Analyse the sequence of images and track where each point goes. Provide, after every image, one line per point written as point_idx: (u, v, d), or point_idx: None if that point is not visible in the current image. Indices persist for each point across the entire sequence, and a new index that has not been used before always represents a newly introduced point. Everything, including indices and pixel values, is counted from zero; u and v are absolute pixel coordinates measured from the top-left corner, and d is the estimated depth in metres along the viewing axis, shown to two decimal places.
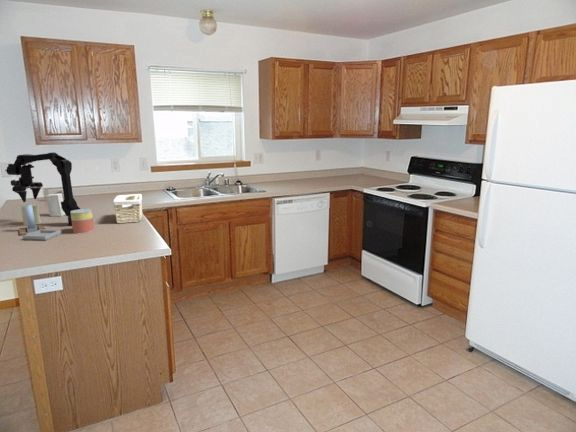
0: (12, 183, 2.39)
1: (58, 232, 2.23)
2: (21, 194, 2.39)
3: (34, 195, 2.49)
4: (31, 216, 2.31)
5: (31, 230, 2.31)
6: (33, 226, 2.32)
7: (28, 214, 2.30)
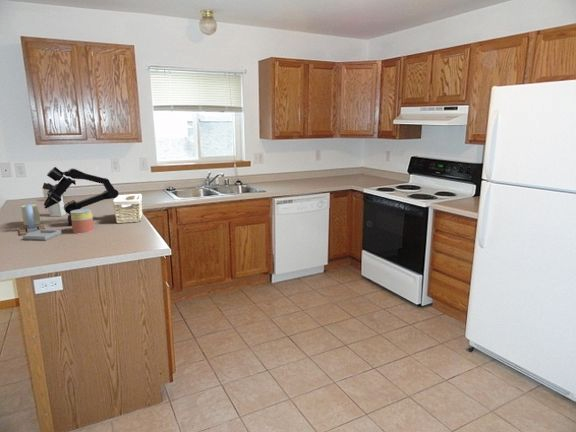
0: (48, 186, 2.31)
1: (58, 232, 2.23)
2: (50, 201, 2.31)
3: (46, 202, 2.39)
4: (31, 216, 2.31)
5: (31, 230, 2.31)
6: (33, 226, 2.32)
7: (28, 214, 2.30)
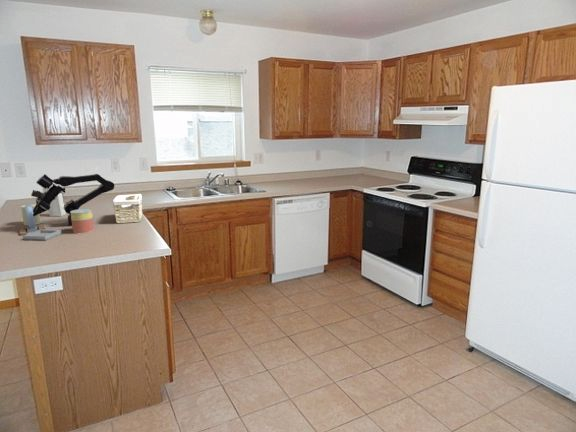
0: (37, 194, 2.28)
1: (58, 232, 2.23)
2: (39, 209, 2.29)
3: (35, 209, 2.37)
4: (31, 216, 2.31)
5: (31, 230, 2.31)
6: (33, 226, 2.32)
7: (28, 214, 2.30)
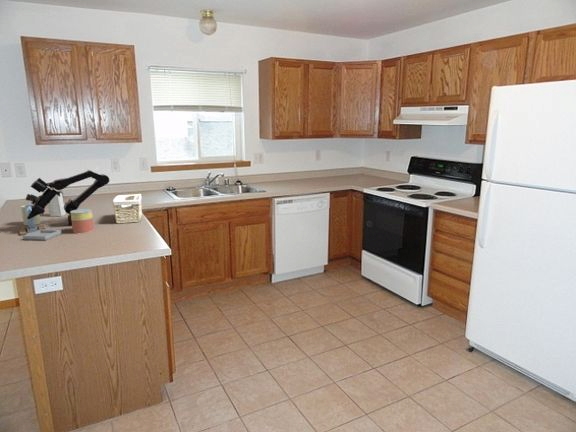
0: (31, 197, 2.27)
1: (58, 232, 2.23)
2: (33, 212, 2.30)
3: None
4: None
5: (31, 230, 2.31)
6: (33, 226, 2.32)
7: (28, 214, 2.30)
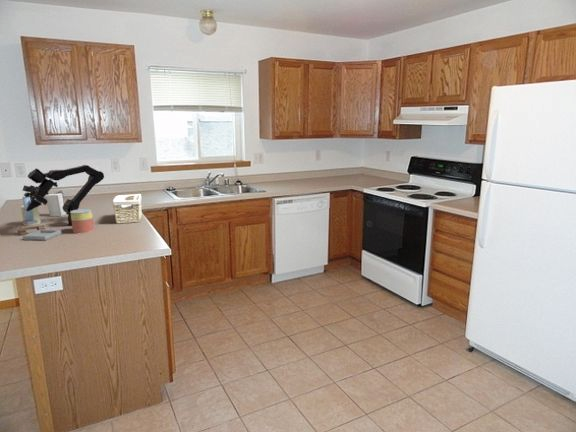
0: (31, 188, 2.21)
1: (58, 232, 2.23)
2: (33, 204, 2.23)
3: None
4: None
5: (31, 222, 2.24)
6: (32, 218, 2.25)
7: (27, 206, 2.23)
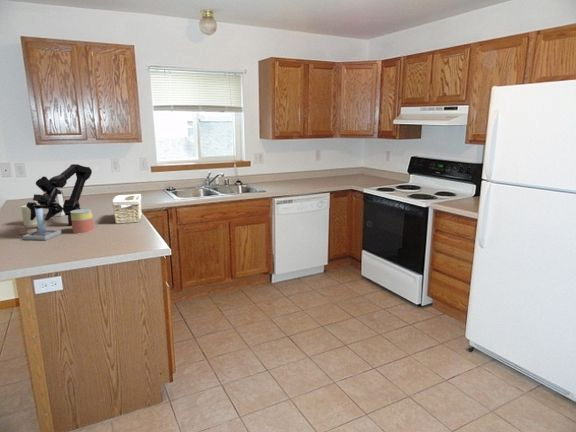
0: (46, 197, 2.17)
1: (58, 232, 2.23)
2: (51, 212, 2.18)
3: (33, 216, 2.18)
4: (44, 220, 2.19)
5: (47, 234, 2.19)
6: (45, 230, 2.20)
7: (42, 218, 2.17)
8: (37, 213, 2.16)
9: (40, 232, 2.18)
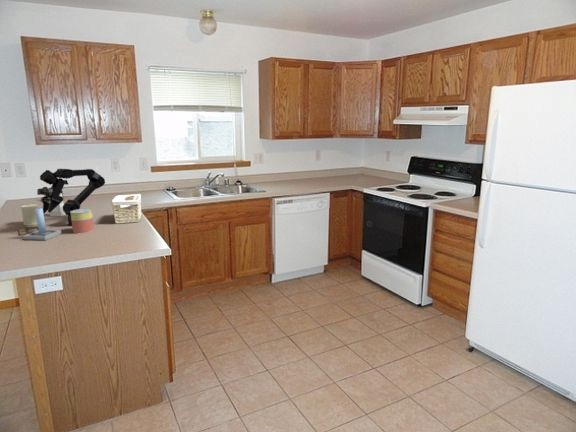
0: (45, 189, 2.24)
1: (58, 232, 2.23)
2: (52, 204, 2.25)
3: (44, 209, 2.31)
4: (44, 220, 2.19)
5: (47, 234, 2.19)
6: (45, 230, 2.20)
7: (42, 218, 2.17)
8: (37, 213, 2.16)
9: (40, 232, 2.18)
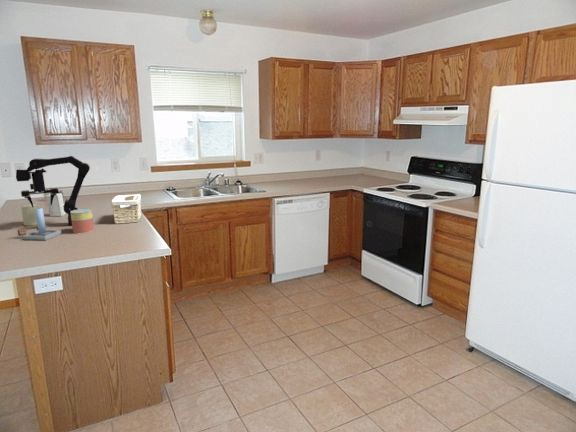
0: (30, 187, 2.37)
1: (58, 232, 2.23)
2: None
3: (50, 201, 2.39)
4: (44, 220, 2.19)
5: (47, 234, 2.19)
6: (45, 230, 2.20)
7: (42, 218, 2.17)
8: (37, 213, 2.16)
9: (40, 232, 2.18)
